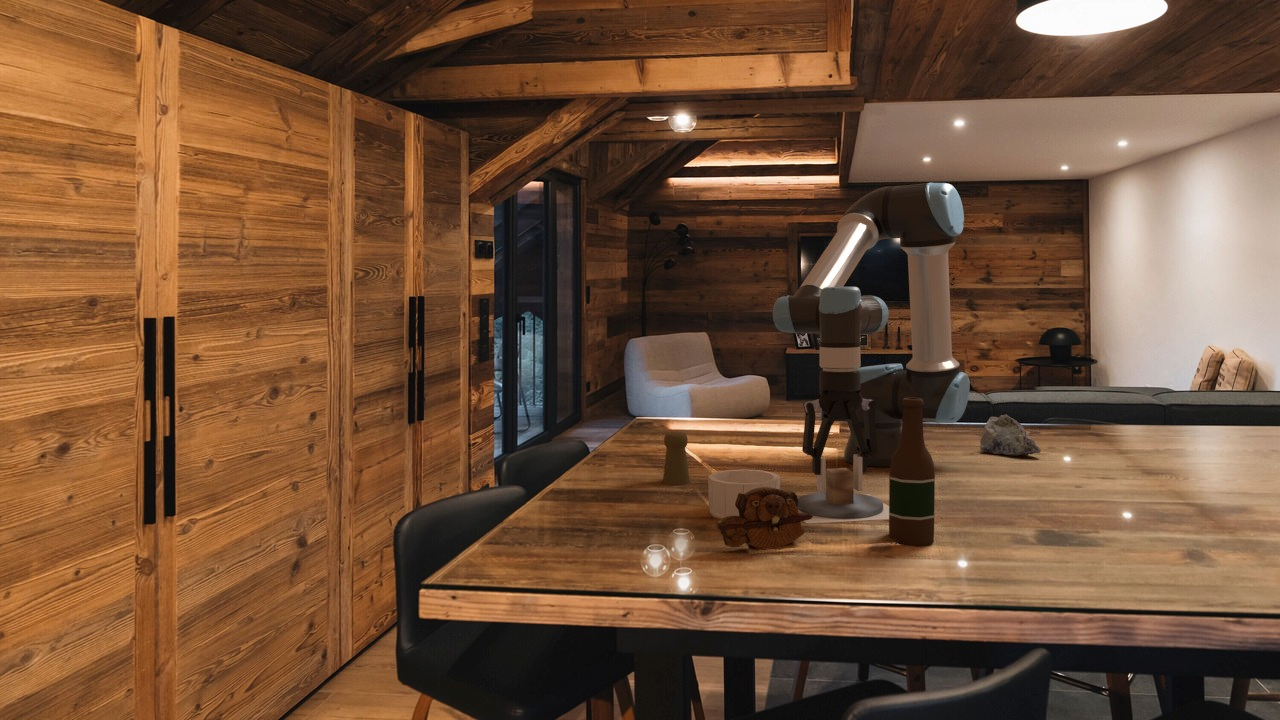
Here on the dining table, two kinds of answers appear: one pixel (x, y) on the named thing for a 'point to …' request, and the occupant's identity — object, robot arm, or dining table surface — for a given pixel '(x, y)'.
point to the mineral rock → (1006, 438)
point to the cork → (676, 459)
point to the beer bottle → (912, 482)
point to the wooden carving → (764, 519)
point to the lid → (840, 498)
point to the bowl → (735, 488)
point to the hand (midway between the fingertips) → (839, 490)
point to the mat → (882, 516)
